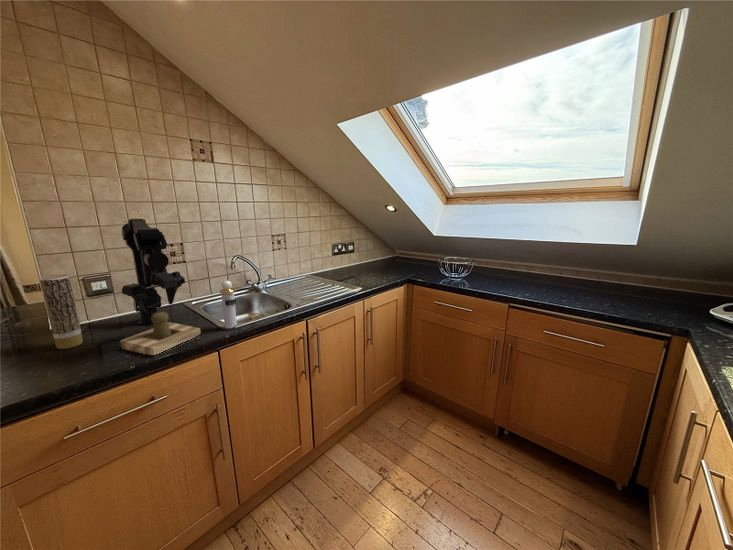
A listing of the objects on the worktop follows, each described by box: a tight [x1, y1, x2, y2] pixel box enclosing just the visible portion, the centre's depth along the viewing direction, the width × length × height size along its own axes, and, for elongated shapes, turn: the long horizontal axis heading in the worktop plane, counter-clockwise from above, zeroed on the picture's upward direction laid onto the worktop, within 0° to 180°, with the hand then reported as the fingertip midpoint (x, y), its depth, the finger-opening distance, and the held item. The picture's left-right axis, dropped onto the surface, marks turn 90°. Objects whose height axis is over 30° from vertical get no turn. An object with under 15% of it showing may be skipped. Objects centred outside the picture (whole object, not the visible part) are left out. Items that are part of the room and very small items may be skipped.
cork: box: [151, 311, 172, 340], centre depth 107 cm, size 6×6×11 cm
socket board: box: [120, 322, 202, 356], centre depth 108 cm, size 16×18×3 cm
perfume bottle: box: [219, 280, 238, 329], centre depth 119 cm, size 6×6×20 cm
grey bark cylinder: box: [39, 273, 84, 350], centre depth 101 cm, size 7×7×25 cm
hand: (159, 307), depth 106 cm, fingers open, 9 cm apart
